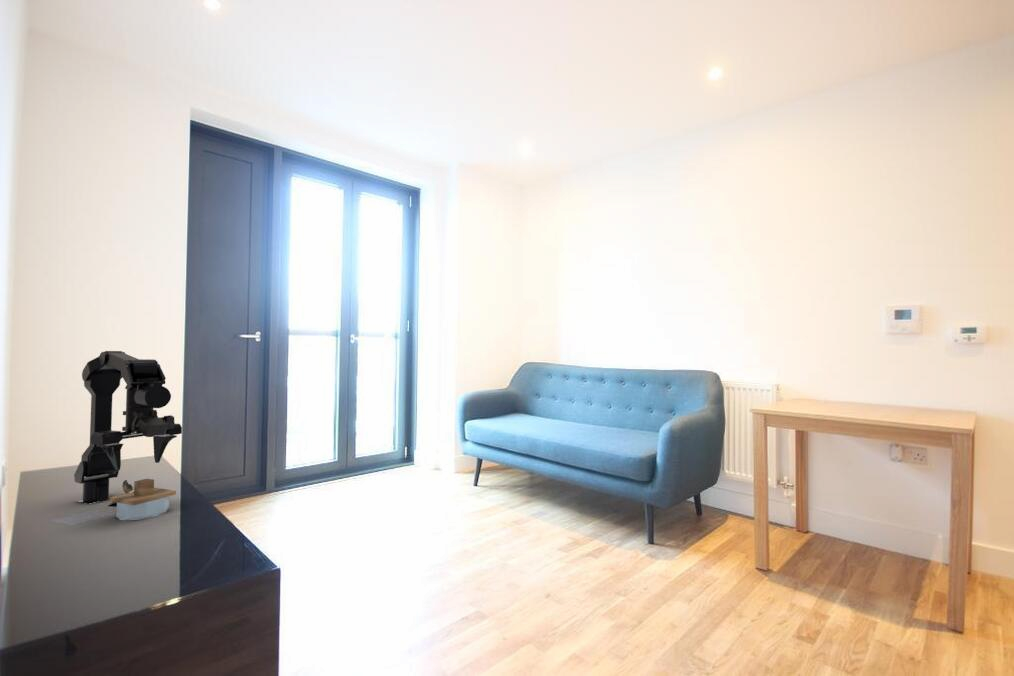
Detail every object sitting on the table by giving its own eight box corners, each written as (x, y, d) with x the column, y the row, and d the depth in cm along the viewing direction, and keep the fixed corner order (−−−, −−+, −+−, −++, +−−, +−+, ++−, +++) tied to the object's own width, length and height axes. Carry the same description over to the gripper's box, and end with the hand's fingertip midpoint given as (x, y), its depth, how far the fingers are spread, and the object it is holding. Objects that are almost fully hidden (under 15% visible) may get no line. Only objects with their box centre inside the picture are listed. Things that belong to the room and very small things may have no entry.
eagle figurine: (156, 495, 135) (126, 489, 135) (150, 478, 131) (119, 472, 131) (135, 516, 128) (104, 511, 128) (128, 499, 125) (96, 493, 125)
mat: (48, 522, 115) (48, 520, 115) (96, 510, 125) (96, 508, 125) (70, 527, 112) (70, 525, 112) (118, 514, 121) (118, 513, 121)
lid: (110, 501, 117) (110, 483, 118) (152, 491, 127) (153, 474, 127) (133, 505, 114) (134, 487, 114) (176, 494, 123) (176, 477, 123)
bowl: (109, 519, 117) (110, 501, 117) (152, 507, 126) (152, 490, 127) (133, 523, 113) (133, 505, 114) (175, 511, 123) (176, 494, 123)
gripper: (117, 411, 109) (115, 477, 109) (195, 404, 127) (194, 461, 126) (90, 410, 114) (87, 473, 113) (169, 403, 131) (168, 458, 130)
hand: (138, 466), depth 120 cm, fingers open, 9 cm apart
